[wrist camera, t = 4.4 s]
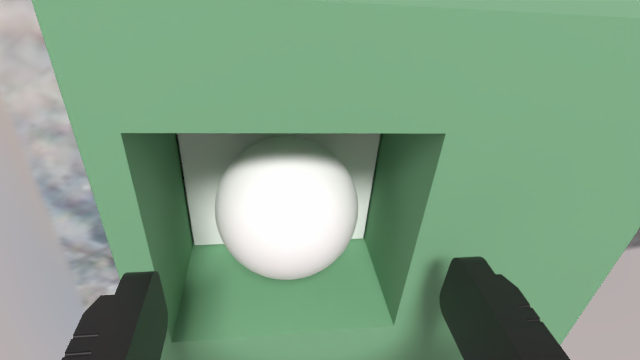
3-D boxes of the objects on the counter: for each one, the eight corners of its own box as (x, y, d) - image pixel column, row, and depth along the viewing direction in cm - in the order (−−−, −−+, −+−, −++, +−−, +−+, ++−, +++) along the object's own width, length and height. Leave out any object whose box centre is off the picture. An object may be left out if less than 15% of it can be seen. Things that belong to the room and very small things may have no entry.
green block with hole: (619, -3, 14) (776, 25, 9) (495, 272, 21) (553, 355, 17) (114, -35, 11) (26, -15, 7) (179, 289, 19) (156, 392, 15)
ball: (219, 201, 9) (199, 119, 13) (232, 328, 12) (212, 229, 16) (396, 174, 11) (332, 108, 15) (372, 291, 14) (323, 210, 17)
